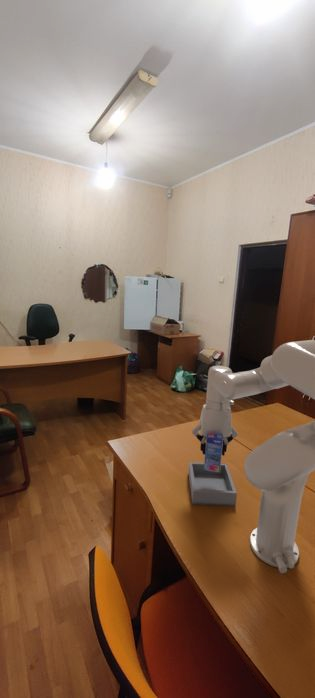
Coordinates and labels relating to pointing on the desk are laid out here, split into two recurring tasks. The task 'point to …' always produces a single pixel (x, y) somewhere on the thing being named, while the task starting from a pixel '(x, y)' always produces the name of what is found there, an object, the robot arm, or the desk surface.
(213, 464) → the ink cartridge box
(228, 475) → the bin
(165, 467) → the desk surface
